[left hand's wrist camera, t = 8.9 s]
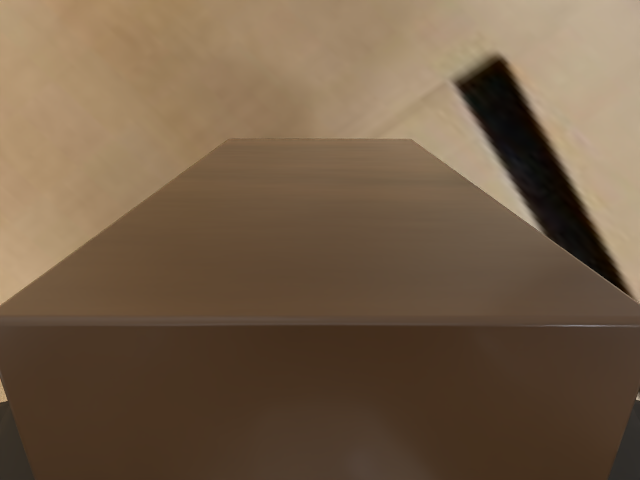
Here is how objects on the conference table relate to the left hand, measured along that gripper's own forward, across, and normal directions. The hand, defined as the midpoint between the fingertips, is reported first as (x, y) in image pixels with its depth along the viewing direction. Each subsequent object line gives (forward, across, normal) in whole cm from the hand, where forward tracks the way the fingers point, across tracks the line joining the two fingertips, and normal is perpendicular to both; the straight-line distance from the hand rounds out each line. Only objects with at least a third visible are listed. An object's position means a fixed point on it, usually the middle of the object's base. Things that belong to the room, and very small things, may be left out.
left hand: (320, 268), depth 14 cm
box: (+2, 0, -8) cm, 8 cm away
